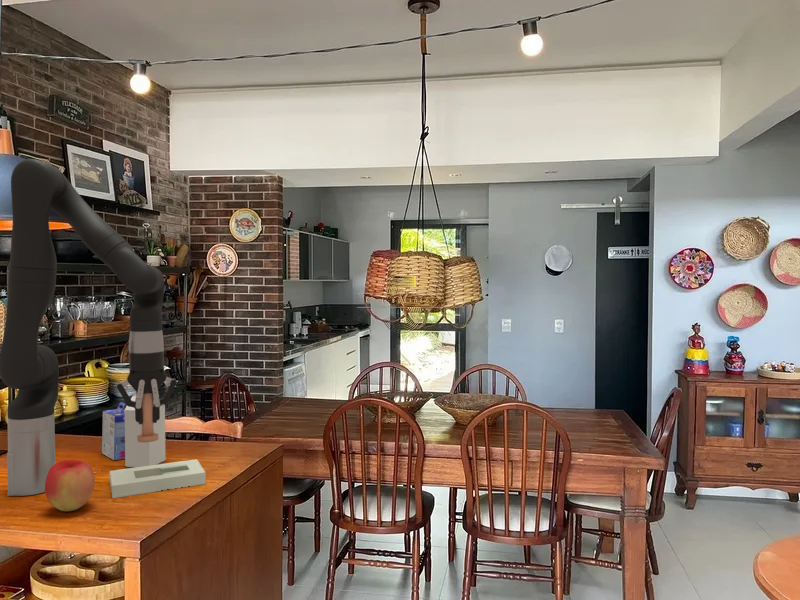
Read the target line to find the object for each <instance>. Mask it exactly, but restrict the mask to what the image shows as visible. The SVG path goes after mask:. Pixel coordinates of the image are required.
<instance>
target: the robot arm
mask: <svg viewBox="0 0 800 600" xmlns="http://www.w3.org/2000/svg"><path fill="white" fill-rule="evenodd" d="M10 189H11V190H10V193H11V207H12V209H11V210H12V227H11V228H12V230H11V237H10V238H11V240H10V241H11V242H10V254H9V255H10V257H9V264H8V265H9V267H8V280H7V281H8V282H7V283H8V285H7V286H8V290H7V302H6V303H7V304H6V317H5V325H4V333H3V337H2V343H1V347H0V379H1V381H2V383H4V385H5V386H7V388H11V389H14V390H18V392H17V394H16V396H15V397H14V399H13V400H12V401H11V402H10V403H9V404H8V406H7V411H6V412H7V416H6V417H7V454H6V476H7V477H6V480H7V483H6V485H7V486H6V487H7V497H13V496H15V497H16V496H17V497H18V496H19V497H21V496H33V495H34V496H35V495H38V494H43V493H45V482H46V478H47V474H48V471H49V469H50V468H51V466H53V465H54V464H56V434H55V427H56V426H55V425H56V424H55V407H56V403H57V402H58V398H59V382H60V381H59V379H60V378H59V376H60V375H59V374H60V372H59V370H60V368H59V360H58V357H57V355H56V353H55V352H54V350H53V349H51V348H50V347H48V346H47V345H44V344H38V343H39V342H38V341H39V331H40V327H41V323H42V320H43V318H44V316H45V314H46V312H47V311H48V308H49V306H50V304H51V302H52V300H53V297H54V295H55V292H56V285H57V272H58V271H57V270H58V264H57V263H58V261H57V255H56V250H55V245H54V243H53V239H52V235H51V232H50V223H49V222H50V221H49V220H50V211H51V210H52V211H53V212H54V213H56V214H57V215H59V216H60V217H61V218H62V219H63V220H64V221H66V222H67V223H68V225H70V227H71V228H72V229H73V230H74V232H75V233H76V235H77V236H78V238H80V240H81V241H82V242H83V244H84V245H85V247H86V248H88V250H90V251H91V252H92V253H93V254H94V256H96V257H97V258H98V259H100V261H101V262H103V263H104V264H105V265H106V266H107V267H108V268H110V270H111V271H112V272H113V274H114V275H115V276H116V278H118V280H119V281H120V282H121V284H123V285H124V286H125V288H126V289H128V290H129V291H130V292H132V293H133V306H132V307H131V309H130V312H129V338H128V359H129V360H128V364H129V366H128V367H129V368H128V369H129V370H128V371H129V373H128V376H127V379H125V380H124V381H121V382H117V383H116V384H115V385H116V388H117V391H118V392H119V394H120V396H121V397H122V399H123V400H124V403H125V404H126V406H128V407H133V408H135V420H136V422H138V423H139V424H142V408H141V404H142V398H143V394H144V393H153V405H154V406H153V423H157V420H159V419H160V406H161V405H162V404H164V405H165V404H168V403H169V400H170V398H171V397H172V395H173V392H174V390H175V388H176V386H177V384H178V381H177V380H176V378H171V377H168V376H167V374H166V373H165V354H164V352H165V349H164V348H165V347H164V334H163V315H162V312H163V311H162V310H163V301H164V294H165V279H164V274H163V273H162V271H161V270H160V269H159V268H157V267H156V266H153V265H149V264H147V262H145V261H144V260H143V259H142V258H141V257H140V256H139V255H138V254H136V252H135V249H134V248H133V247H132V245H131V244H130V243H129V242H128V241H127V240H126V239H125V238H124V237H123V236H121V235H120V233H118V232H117V231H116V230H115V229H114V228H113V227H112V226H111V225H110V224H108V222H106V220H105V219H103V218H102V217H101V216H100V215H99V214H98V213H97V212H96V211H94V210H93V208H91V206H90V205H89V204H88V203H87V202H86V201H85V200H84V199H83V197H82V196H81V195H80V194H79V192H78V191H77V190H76V188H75V187H74V186H73V185H72V183H71V182H70V181H69V180H68V178H67V177H66V176H65V175H64V173H63V171H62V170H60V168H58V167H56V166H54V165H53V164H50V163H47V162H45V161H42V160H40V159H36V158H27V159H23V160H22V161H20V162H18V163H17V164H16V165H15V166H14V168H13V170H12V172H11V176H10ZM164 383H165V386H166V389H165V390H164V393H163V395H162V397H161V398H160V394H159V390H160V388H161V387H162V385H163V384H164ZM129 385H130V386H131V387H132V388H133V390H134V392H136V399H135V401H131V398H130V396H129V393H128V392H127V390H128V389H129V387H128V386H129Z"/></svg>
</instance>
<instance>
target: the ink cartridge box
mask: <svg viewBox="0 0 800 600" xmlns="http://www.w3.org/2000/svg"><path fill="white" fill-rule="evenodd" d="M126 406H127V404H126V402H122V401H120V403H119V404H118V406H117V408H116V409H107V410H103V411H102V434H101V435H102V436H101V438H102V439H101V441H102V442H101V454H103V455H105V456H106V457H107V458H110V459H111V460H112V461H117V460H118V461H119V460H123V459H124V460H125V408H126Z"/></svg>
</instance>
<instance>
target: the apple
mask: <svg viewBox="0 0 800 600" xmlns="http://www.w3.org/2000/svg"><path fill="white" fill-rule="evenodd" d="M95 479H96V478H95V473H94V470H93V468H92V466H91V465H90V464H89V463H87V462H86V461H81V460H76V459H67V460H61V461H58V462H55V464H54V465H53V466H51V468H50V469H49V471H48V474H47V478H46V482H45V492H44V493H45V497H46V499H47V502H48V503H50V504H51V505H52V506H53V507H54V508H56V509H57V510H58V511H61V512H73V511H76V510H78V509H80V508H81V507H83V506H84V505H86V503H87V502H88V501H89V500H90V498H91V496H92V495H93V492H94V490H95V484H96V483H95V482H96V481H95Z"/></svg>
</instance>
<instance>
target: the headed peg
mask: <svg viewBox="0 0 800 600" xmlns="http://www.w3.org/2000/svg"><path fill="white" fill-rule="evenodd" d="M141 408H142V434H140V435H138V436H137V441H138V442H153V441H156V440H158V434H157V433H154V423H153V393H144V394H143V398H142V404H141Z"/></svg>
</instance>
